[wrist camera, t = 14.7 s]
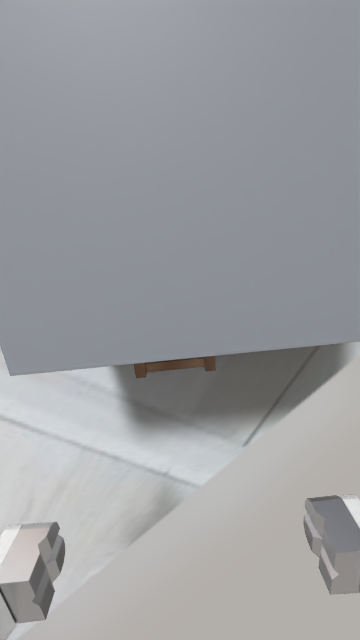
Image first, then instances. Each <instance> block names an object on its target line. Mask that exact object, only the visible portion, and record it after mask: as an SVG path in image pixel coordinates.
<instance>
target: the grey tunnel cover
mask: <svg viewBox="0 0 360 640" xmlns="http://www.w3.org/2000/svg"><path fill="white" fill-rule="evenodd" d="M359 341H360V0H0V346H1V349H2V352H3V355H4V358H5V361H6V364H7V367H8V370H9V373H10V376H15V375H25V374H35V373H45V372H55V371H65V370H75V369H86V368H96V367H106V366H116V365H126V364H136V363H146V362H156V361H166V360H177V359H187V358H197V357H207V356H217V355H227V354H237V353H247V352H257V351H268V350H278V349H288V348H298V347H308V346H318V345H328V344H338V343H348V342H359Z"/></svg>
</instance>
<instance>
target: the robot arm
mask: <svg viewBox="0 0 360 640" xmlns="http://www.w3.org/2000/svg"><path fill="white" fill-rule="evenodd" d="M305 508H306V510H307V513H306V515H305V516H304V529H305V534H306V537H307V540H308V543H309V545H310V548H311V550H312V551H313V552H314V553H315V554H316V555H317V556H318V557H319V558H320V561H319V569H320V571H321V574H322V576H323V579H324V581H325V583H326V586H327V588H328V590H329V593H330V594H347V593H360V500H359V499H358V497H357V496H355V495H354V494H348V495H340V496H337V495H333V496H325V497H315V498H307V499H306V501H305ZM59 529H60V528H59V525H58V523H57V522H47V523H33V524H19V525H9V526H8V527H7V528H6V529H5V530H4V531H3V533H2V535H1V536H0V640H6V639H7V638H8V637H9V635H10V634H11V633H12V631H13V630H14V628H15V627H16V624H17V623H25V622H33V621H41V620H46V617H47V614H48V611H49V608H50V605H51V601H52V598H53V595H54V592H55V591H54V587H53V582H54V580H55V579H56V578H57V577H58V576H59V575H60V573H61V570H62V566H63V563H64V556H65V543H64V540H63V538H62V537H61V536H59V535H58V532H59Z"/></svg>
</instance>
